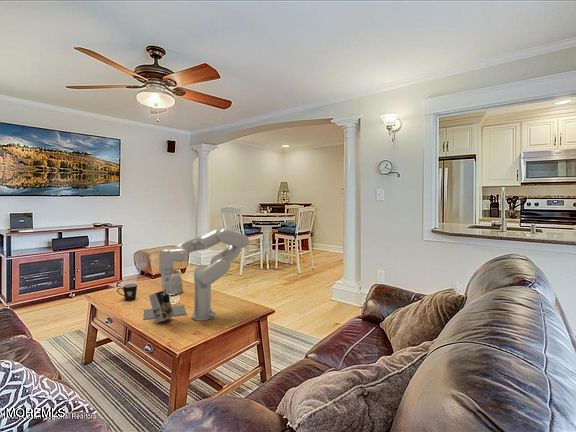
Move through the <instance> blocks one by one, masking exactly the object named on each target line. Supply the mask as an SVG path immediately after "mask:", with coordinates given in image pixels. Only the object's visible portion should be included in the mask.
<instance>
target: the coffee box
mask: <svg viewBox="0 0 576 432" xmlns="http://www.w3.org/2000/svg"><path fill="white" fill-rule="evenodd" d="M163 295H164V292H163V290H160V291H158V292H155V293H153V294H150V295H148V296H149V301H150V305H151V309H153V313H154V317H155V319H154V320H155V323H160V322H165V321H166V320H168V319H170V318H172V317H175V316H174V313H173V309H172V306H173V305H172V303H171V299H170V297H169V302H167V303H163Z"/></svg>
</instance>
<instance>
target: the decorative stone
mask: <svg viewBox="0 0 576 432" xmlns="http://www.w3.org/2000/svg"><path fill="white" fill-rule="evenodd" d="M182 280H183V279H182V276H181V275H180V274H179V273H178V274H177V273H172V291H170V290H169V293H170V294H177V295H180V294H182V293H183V290H184V289H183V281H182Z"/></svg>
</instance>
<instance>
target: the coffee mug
mask: <svg viewBox="0 0 576 432" xmlns="http://www.w3.org/2000/svg"><path fill="white" fill-rule="evenodd" d="M122 286H123V287H118V288H117V289H116V292H117V293H118V294H119V295H120V296H123V297H124V301H125V302H133V301H136V299H137V291H138V289H137V288H138V283H127V284H123V285H122ZM120 289H122V291H123V294H122V293H120V292H119V290H120Z"/></svg>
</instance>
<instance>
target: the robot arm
mask: <svg viewBox="0 0 576 432" xmlns="http://www.w3.org/2000/svg"><path fill="white" fill-rule="evenodd" d="M220 243H223V244H225V245H228V246H227V247H226V248H225V249H223V251H221V252H219V253H217V254H216V255H214V256H213V257H212V258H211V260H210V262H209V263H210V265H209V266H208V265H206V264H199V265H197V267H195V269H194V270H193V271H194V273H193V279H194V280H193V282H194V308H193V310H194V313H192V315H191V319H192V320H194V321H199V322H201V321H203V322H204V321H208V319H209V320H211V319H212V318H215V317H216V314H217V312H215V311H213V308H211V307H212V305H211V304H212V300H211V299H212V284H213V283H215V282H216V281H217V280H219V279H220V278H222V277H223V276H224V275H226V274H227V273H228V272H229V270H231V269H230V268H231V263H232V262H233V261H235V259H237V258H238V257H239V256H240V254H241V252H242V249H244V248H246V247H247V246H248V245H249V243H250V239H249V237H248V236H247V235H246V234H244V233H241V232H238V231H234V230H231V229H229V228H226V227H223V226H220V227H217V228H215V229H213V230H211V231H208V232H207V233H204V234H203V235H200V236H197V237H195V238H192V239H189V240H186V241H184V242H182V243H180V244H178V245H176V246H175V247H173V248H170V247H167V248H166V247H165V248H161V249H159V252H158V258H159V259H158V261H159V263H158V267H159V268H158V269H159V270H158V273H159V275H160V277H161V289H162V290H161V291H163V292H164V295H163V303H167V302H169V298H170V295H169V290H170V291H172V274H174V262H177V263H181V262H185V261H187V260H188V258H189V254H191V253H193V252H196V251H205V250H207V249H208V250H209V249H210V248H211V247H212V248H213V247H214V246H216V245H218V244H220Z"/></svg>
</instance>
